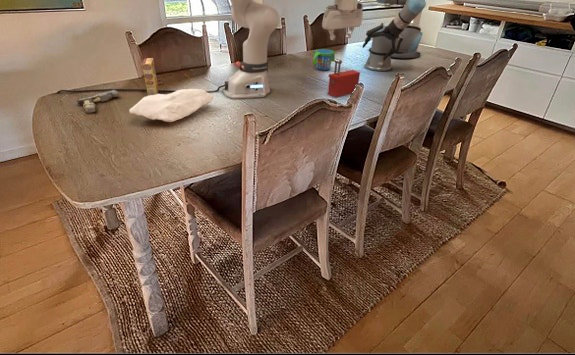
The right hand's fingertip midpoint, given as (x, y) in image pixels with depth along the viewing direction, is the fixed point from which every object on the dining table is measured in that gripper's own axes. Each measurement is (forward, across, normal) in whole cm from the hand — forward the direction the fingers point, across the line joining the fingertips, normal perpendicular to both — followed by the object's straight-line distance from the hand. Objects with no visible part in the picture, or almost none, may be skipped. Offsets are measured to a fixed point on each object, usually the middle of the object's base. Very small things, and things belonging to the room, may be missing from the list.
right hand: (373, 52), depth 198 cm
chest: (+1, -10, -38) cm, 39 cm away
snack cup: (+24, -18, -5) cm, 30 cm away
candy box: (+27, -89, -71) cm, 117 cm away
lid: (-6, -14, -34) cm, 38 cm away
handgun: (+27, -104, -87) cm, 139 cm away
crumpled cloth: (+12, -75, -86) cm, 114 cm away
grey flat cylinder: (+28, +27, +49) cm, 62 cm away
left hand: (-19, -26, -30) cm, 44 cm away
